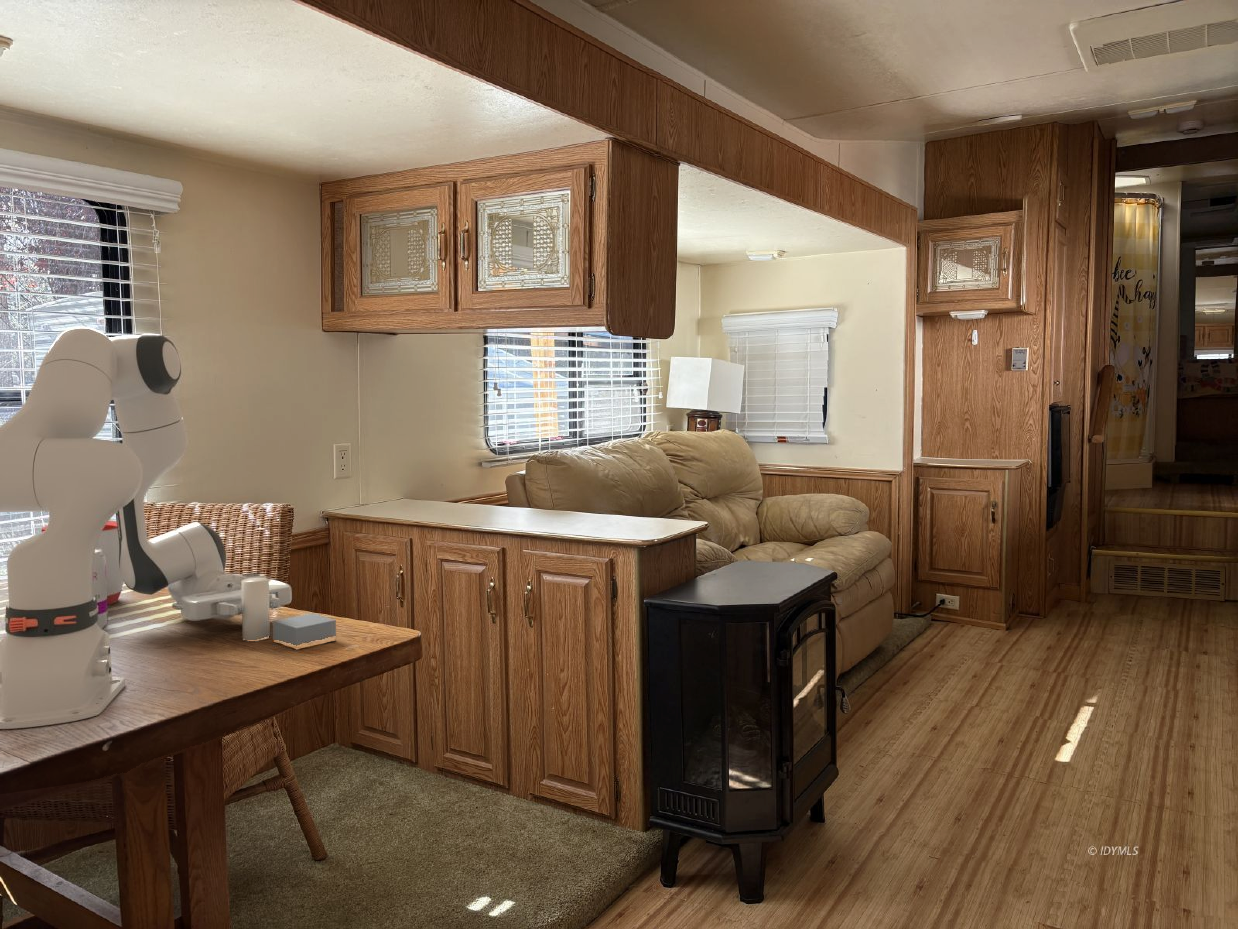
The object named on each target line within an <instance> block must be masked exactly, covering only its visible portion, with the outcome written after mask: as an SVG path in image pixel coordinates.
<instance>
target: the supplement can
mask: <svg viewBox="0 0 1238 929" xmlns="http://www.w3.org/2000/svg"><path fill="white" fill-rule="evenodd" d="M93 590H94V597H95V598H96V599H97V605H98V621H97V622H96V623H97V625H98V626H99V627H100V628H101V629H104V627H105V626H106V625H107V624H108V623H109V620H108V618H109V617H108V616H109V615H108V614H109V613H108V605H107V585H106V558H105V556H104V555H103V553H102V550H100V549H95V555H94V572H93Z"/></svg>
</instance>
